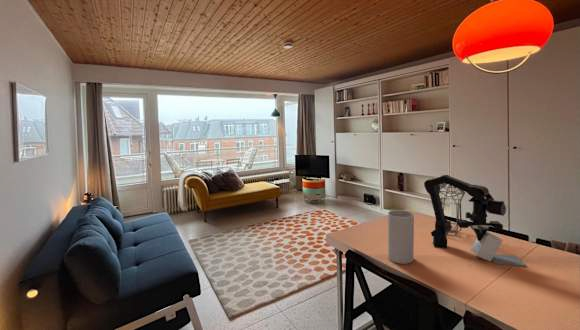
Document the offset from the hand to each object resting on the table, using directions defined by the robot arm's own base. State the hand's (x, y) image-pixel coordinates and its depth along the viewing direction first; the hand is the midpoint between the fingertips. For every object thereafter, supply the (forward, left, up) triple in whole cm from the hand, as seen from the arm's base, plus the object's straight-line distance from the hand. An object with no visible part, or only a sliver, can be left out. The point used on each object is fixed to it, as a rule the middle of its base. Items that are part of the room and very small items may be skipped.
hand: (478, 240), depth 141 cm
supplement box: (+1, 0, -8) cm, 8 cm away
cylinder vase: (-38, -9, -10) cm, 41 cm away
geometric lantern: (-5, +34, -10) cm, 36 cm away
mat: (+12, 0, -10) cm, 15 cm away
